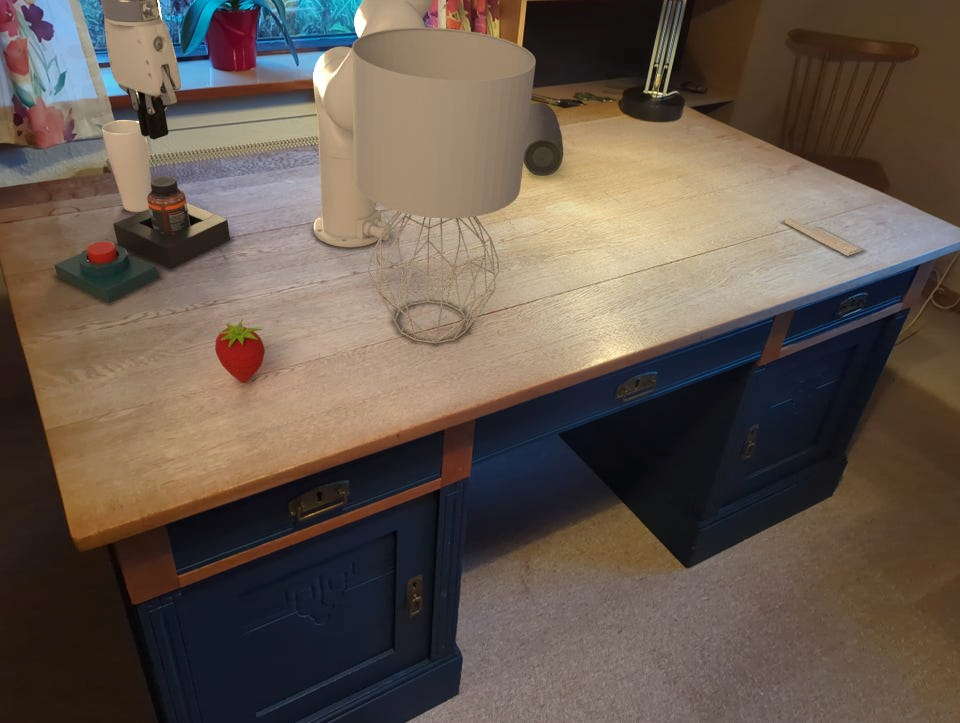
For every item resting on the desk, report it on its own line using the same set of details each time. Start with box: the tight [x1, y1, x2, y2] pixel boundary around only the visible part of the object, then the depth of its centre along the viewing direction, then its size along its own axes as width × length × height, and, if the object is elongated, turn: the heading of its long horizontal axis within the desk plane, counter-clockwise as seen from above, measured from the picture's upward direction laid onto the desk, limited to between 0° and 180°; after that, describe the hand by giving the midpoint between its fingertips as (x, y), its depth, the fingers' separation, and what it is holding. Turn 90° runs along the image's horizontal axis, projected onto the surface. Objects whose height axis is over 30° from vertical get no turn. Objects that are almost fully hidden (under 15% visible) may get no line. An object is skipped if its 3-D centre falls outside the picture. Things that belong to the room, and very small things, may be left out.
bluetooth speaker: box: [523, 102, 564, 177], centre depth 168 cm, size 23×9×10 cm, turn 179°
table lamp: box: [351, 27, 536, 344], centre depth 105 cm, size 22×22×40 cm
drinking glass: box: [101, 119, 152, 213], centre depth 134 cm, size 7×7×15 cm
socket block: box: [112, 202, 231, 270], centre depth 129 cm, size 13×13×4 cm
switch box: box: [53, 244, 159, 304], centre depth 118 cm, size 12×9×4 cm
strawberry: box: [214, 317, 265, 384], centre depth 99 cm, size 6×8×10 cm
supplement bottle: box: [147, 175, 191, 236], centre depth 126 cm, size 6×6×11 cm
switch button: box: [86, 241, 117, 263], centre depth 117 cm, size 4×4×2 cm
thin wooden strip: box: [784, 217, 864, 257], centre depth 151 cm, size 5×15×1 cm, turn 33°
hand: (155, 134), depth 118 cm, fingers closed
